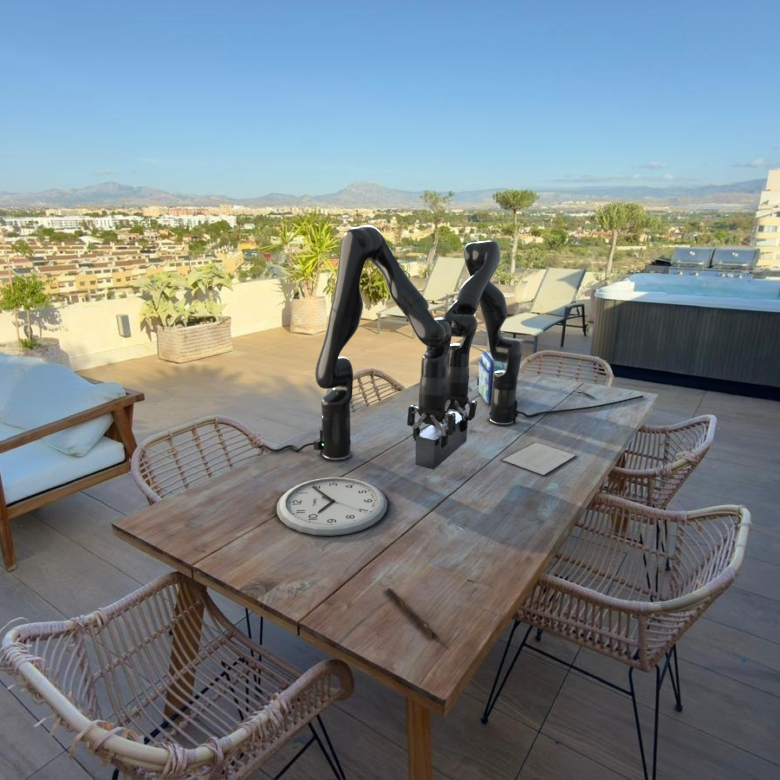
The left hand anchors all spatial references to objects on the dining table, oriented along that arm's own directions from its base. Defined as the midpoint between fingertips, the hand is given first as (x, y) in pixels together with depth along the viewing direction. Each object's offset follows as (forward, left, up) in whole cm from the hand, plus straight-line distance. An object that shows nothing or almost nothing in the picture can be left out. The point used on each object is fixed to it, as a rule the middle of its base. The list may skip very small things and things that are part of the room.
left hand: (430, 443), depth 151 cm
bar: (0, +9, -6) cm, 11 cm away
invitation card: (+21, +38, -13) cm, 45 cm away
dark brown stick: (+24, -49, -13) cm, 56 cm away
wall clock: (-15, -26, -13) cm, 33 cm away
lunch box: (-17, +87, -13) cm, 90 cm away
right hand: (-1, +17, -1) cm, 17 cm away
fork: (+15, +120, -13) cm, 122 cm away
